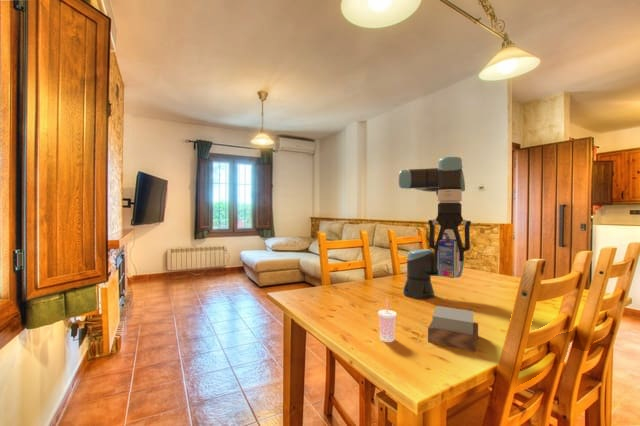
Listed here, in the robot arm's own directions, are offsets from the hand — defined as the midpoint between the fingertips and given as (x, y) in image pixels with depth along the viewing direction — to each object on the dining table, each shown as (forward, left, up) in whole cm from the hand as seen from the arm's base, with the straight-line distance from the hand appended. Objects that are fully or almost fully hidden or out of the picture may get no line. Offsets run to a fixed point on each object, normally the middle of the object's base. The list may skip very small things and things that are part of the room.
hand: (448, 269), depth 102 cm
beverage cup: (-17, -13, -23) cm, 32 cm away
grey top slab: (+2, -1, -19) cm, 19 cm away
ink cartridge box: (0, 0, -2) cm, 2 cm away
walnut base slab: (+2, 0, -24) cm, 24 cm away
